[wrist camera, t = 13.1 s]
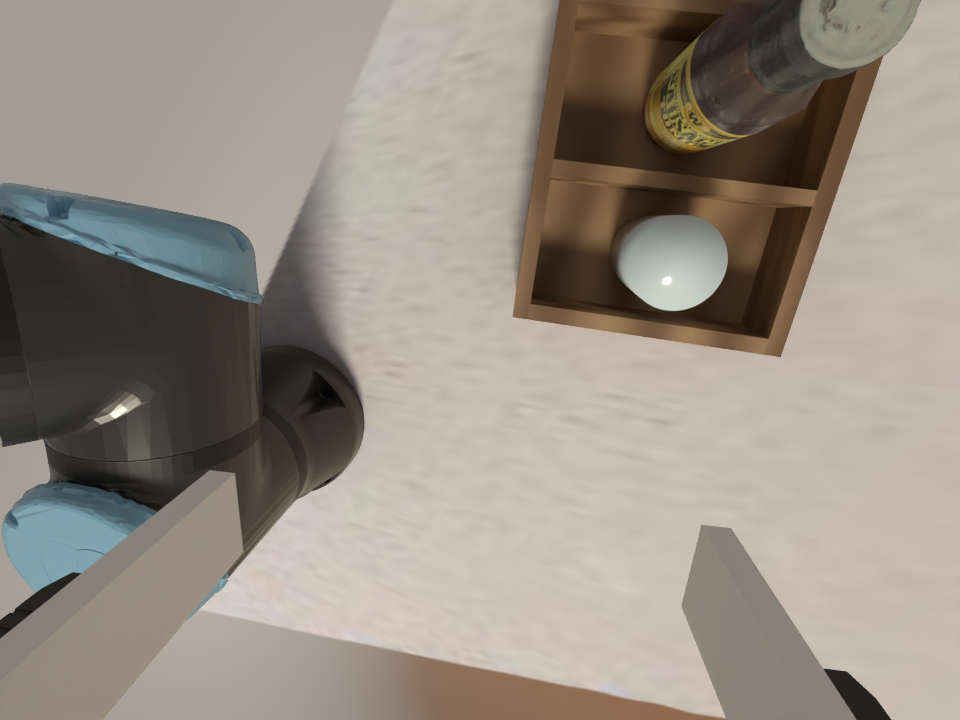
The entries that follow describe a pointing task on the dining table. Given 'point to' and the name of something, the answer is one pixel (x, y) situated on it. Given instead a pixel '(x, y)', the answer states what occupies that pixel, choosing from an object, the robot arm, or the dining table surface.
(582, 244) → the caddy
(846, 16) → the sauce bottle
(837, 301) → the dining table surface
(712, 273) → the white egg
